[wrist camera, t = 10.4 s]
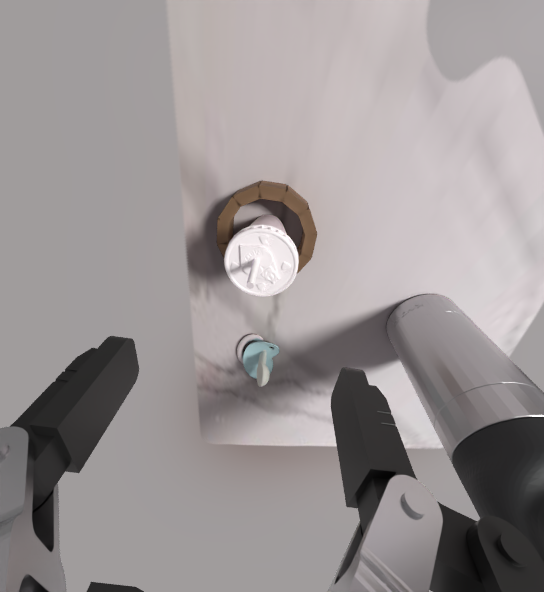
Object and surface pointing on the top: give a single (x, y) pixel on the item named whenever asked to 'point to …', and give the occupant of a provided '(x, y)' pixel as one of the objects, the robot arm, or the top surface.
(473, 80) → the top surface
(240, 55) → the top surface
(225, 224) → the brown polygonal ring
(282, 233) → the smoothie
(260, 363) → the pacifier
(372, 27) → the top surface
